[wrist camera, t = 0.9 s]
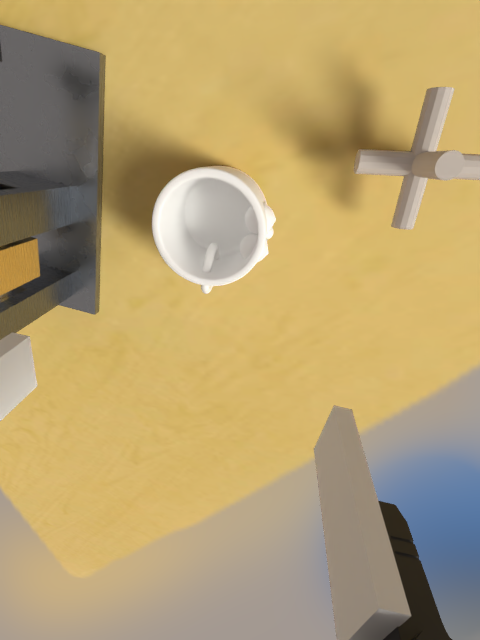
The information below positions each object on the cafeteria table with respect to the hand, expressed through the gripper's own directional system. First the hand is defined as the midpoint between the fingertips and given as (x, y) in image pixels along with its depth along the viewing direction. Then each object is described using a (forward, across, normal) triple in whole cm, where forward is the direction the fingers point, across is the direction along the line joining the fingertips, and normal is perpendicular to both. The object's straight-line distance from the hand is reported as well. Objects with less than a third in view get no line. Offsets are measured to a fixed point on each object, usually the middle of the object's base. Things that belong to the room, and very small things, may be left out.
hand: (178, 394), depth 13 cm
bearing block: (+25, -22, +1) cm, 33 cm away
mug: (+25, -2, +2) cm, 25 cm away
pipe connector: (+25, +13, +11) cm, 30 cm away
